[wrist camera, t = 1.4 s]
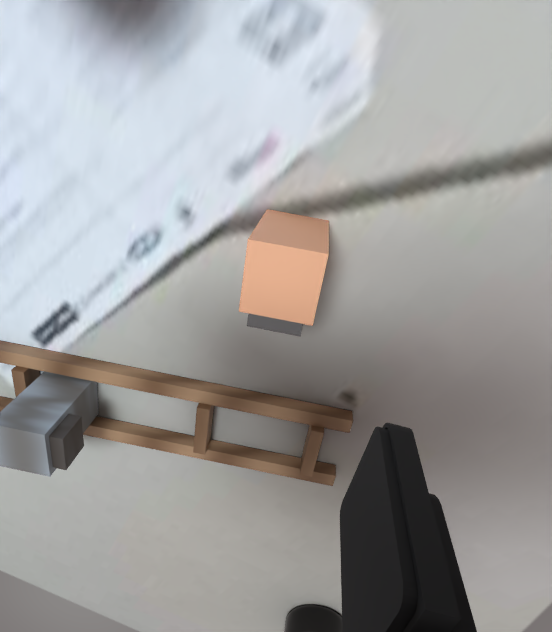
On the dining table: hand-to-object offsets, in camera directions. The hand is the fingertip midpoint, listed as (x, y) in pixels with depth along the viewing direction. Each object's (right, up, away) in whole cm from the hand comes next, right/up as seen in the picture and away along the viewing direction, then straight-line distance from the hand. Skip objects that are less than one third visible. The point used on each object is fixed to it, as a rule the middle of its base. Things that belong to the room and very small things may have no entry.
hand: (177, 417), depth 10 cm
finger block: (+3, +7, +17) cm, 19 cm away
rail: (-7, -5, +25) cm, 26 cm away
